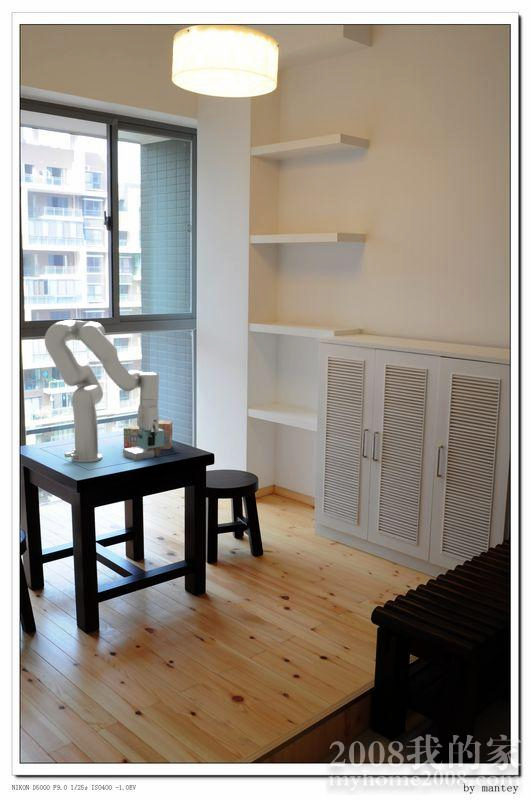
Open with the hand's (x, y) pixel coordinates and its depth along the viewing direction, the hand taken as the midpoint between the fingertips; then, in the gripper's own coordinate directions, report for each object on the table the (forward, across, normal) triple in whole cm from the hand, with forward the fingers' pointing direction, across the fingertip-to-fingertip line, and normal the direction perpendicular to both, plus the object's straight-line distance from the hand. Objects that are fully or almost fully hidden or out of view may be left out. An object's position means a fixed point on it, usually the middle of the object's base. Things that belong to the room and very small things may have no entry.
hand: (147, 443), depth 317 cm
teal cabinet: (+1, 0, +2) cm, 2 cm away
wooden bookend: (+8, -10, +4) cm, 13 cm away
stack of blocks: (+9, -20, +14) cm, 26 cm away
